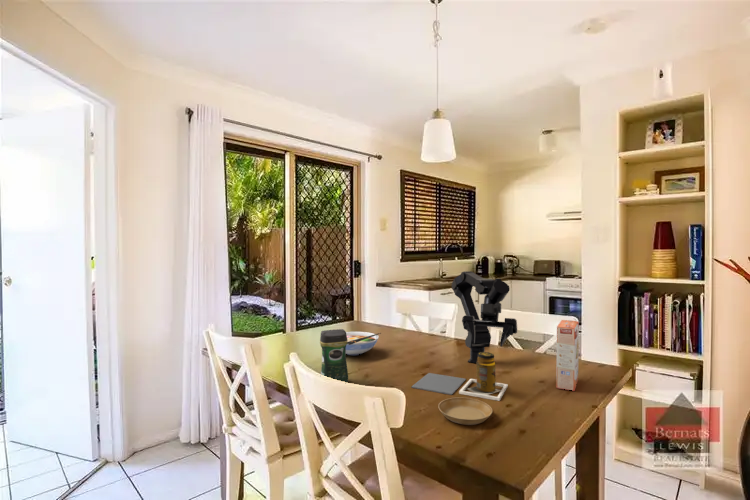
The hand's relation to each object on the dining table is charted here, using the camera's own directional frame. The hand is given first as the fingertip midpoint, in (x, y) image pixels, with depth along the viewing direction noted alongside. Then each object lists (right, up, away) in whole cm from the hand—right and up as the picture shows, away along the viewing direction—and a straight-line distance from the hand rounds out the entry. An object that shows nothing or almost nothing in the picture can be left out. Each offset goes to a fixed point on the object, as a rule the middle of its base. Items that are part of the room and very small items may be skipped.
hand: (487, 344), depth 135 cm
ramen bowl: (-49, -14, +39) cm, 64 cm away
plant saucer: (-14, -14, -26) cm, 33 cm away
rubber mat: (-17, -13, -1) cm, 21 cm away
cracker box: (+27, -13, -2) cm, 30 cm away
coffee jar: (-53, -14, +2) cm, 55 cm away
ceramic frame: (-3, -13, -7) cm, 15 cm away
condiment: (-3, -14, -7) cm, 16 cm away
